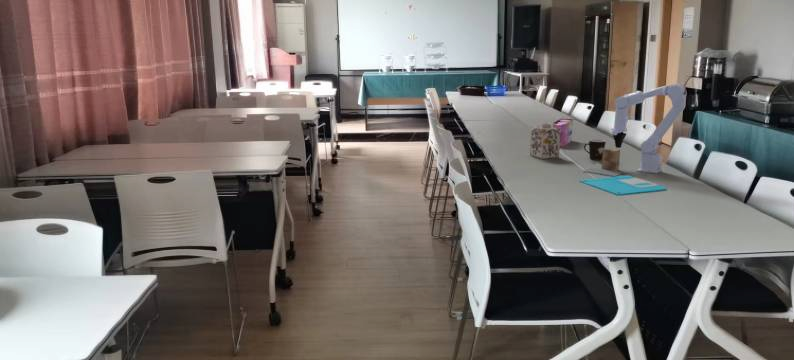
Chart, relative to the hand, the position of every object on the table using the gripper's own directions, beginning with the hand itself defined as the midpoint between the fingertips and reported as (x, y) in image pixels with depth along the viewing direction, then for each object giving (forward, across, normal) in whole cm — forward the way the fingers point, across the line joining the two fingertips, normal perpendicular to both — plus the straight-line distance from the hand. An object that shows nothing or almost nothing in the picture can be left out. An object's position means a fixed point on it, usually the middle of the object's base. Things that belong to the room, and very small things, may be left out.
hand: (618, 147), depth 309 cm
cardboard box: (+10, +8, 0) cm, 13 cm away
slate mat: (+10, +17, 0) cm, 20 cm away
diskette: (+10, +36, +17) cm, 41 cm away
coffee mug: (+10, -11, -17) cm, 23 cm away
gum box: (+10, -44, -51) cm, 68 cm away
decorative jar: (+10, 0, -40) cm, 41 cm away
